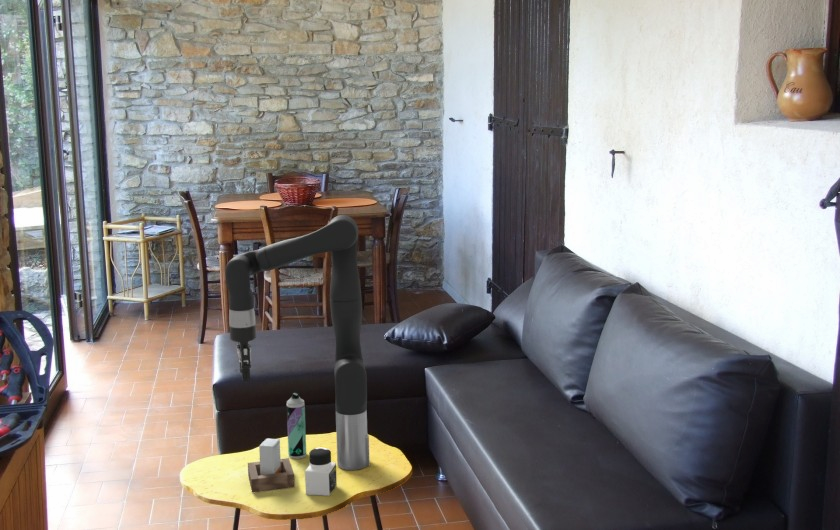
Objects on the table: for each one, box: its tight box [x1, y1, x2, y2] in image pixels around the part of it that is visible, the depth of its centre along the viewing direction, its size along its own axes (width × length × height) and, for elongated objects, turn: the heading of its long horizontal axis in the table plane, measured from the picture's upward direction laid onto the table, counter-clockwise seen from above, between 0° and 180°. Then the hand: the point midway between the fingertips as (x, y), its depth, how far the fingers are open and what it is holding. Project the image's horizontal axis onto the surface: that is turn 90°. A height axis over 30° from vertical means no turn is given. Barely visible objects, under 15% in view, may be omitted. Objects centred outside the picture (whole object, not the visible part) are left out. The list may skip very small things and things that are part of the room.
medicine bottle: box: [304, 447, 338, 497], centre depth 250 cm, size 7×7×12 cm
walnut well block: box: [247, 457, 296, 493], centre depth 257 cm, size 12×12×4 cm
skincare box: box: [258, 437, 281, 475], centre depth 256 cm, size 6×4×12 cm
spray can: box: [286, 392, 307, 460], centre depth 274 cm, size 6×6×20 cm
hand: (245, 376), depth 263 cm, fingers open, 8 cm apart
